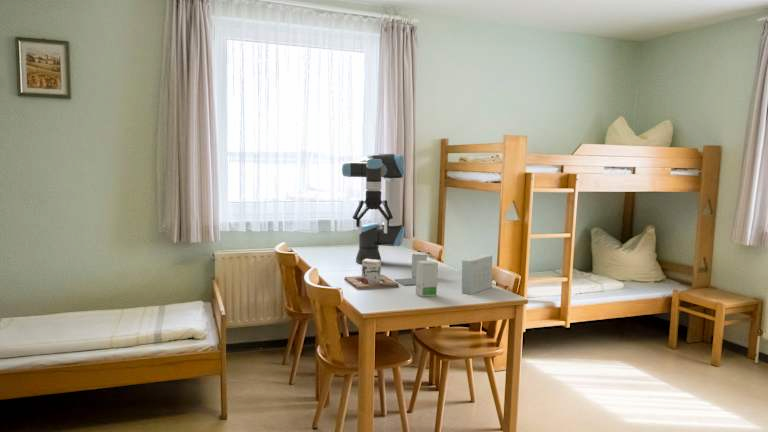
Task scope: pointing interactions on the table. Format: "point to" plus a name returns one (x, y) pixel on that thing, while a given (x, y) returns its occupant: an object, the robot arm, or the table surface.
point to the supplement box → (416, 257)
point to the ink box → (371, 271)
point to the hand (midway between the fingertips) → (372, 233)
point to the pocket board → (386, 284)
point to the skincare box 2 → (476, 274)
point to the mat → (407, 281)
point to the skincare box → (426, 278)
